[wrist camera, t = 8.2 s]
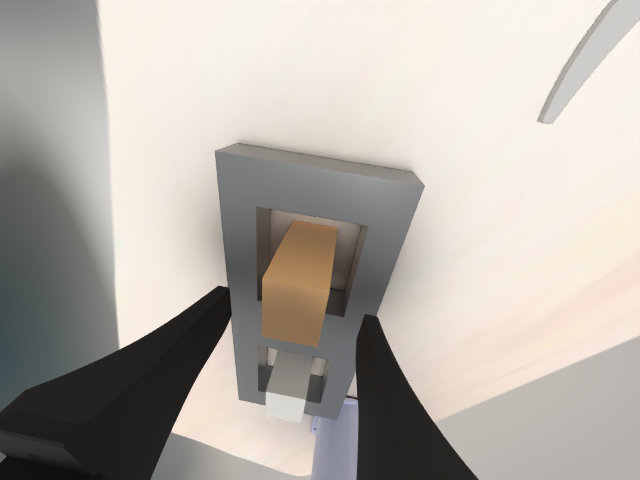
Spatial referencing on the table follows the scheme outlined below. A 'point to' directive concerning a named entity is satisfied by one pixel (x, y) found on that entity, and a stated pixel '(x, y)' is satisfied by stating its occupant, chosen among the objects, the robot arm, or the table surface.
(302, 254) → the orange plug
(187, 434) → the table surface
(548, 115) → the pliers
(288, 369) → the white plug
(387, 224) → the grey two-slot frame
